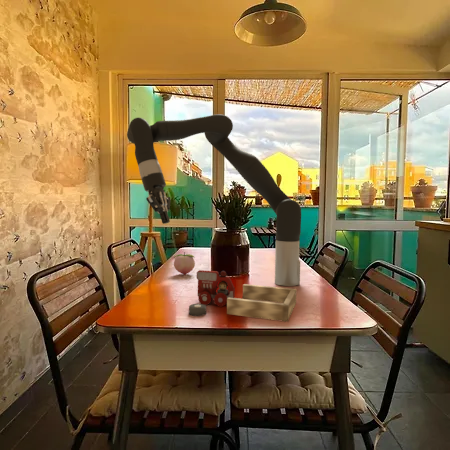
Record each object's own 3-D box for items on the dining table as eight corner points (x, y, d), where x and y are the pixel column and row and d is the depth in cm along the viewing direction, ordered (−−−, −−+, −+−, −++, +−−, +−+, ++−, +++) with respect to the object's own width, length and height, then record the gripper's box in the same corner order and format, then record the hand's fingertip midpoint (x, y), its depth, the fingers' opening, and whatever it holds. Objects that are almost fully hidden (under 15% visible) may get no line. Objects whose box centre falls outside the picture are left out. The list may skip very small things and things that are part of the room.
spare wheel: (206, 310, 100) (206, 303, 100) (205, 316, 95) (205, 308, 95) (189, 310, 100) (189, 302, 100) (188, 316, 95) (188, 308, 95)
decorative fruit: (195, 272, 151) (195, 250, 151) (194, 276, 143) (194, 253, 142) (174, 272, 151) (174, 250, 150) (172, 276, 143) (172, 253, 142)
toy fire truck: (232, 307, 103) (232, 274, 102) (193, 304, 105) (193, 272, 105) (236, 301, 110) (236, 269, 109) (199, 298, 112) (199, 267, 111)
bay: (226, 314, 97) (227, 298, 96) (243, 297, 114) (244, 284, 113) (287, 321, 91) (288, 305, 91) (296, 302, 108) (296, 289, 108)
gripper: (153, 181, 124) (166, 225, 122) (131, 177, 111) (146, 227, 110) (170, 173, 121) (184, 219, 120) (150, 169, 109) (166, 219, 107)
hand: (166, 223), depth 115 cm, fingers closed
